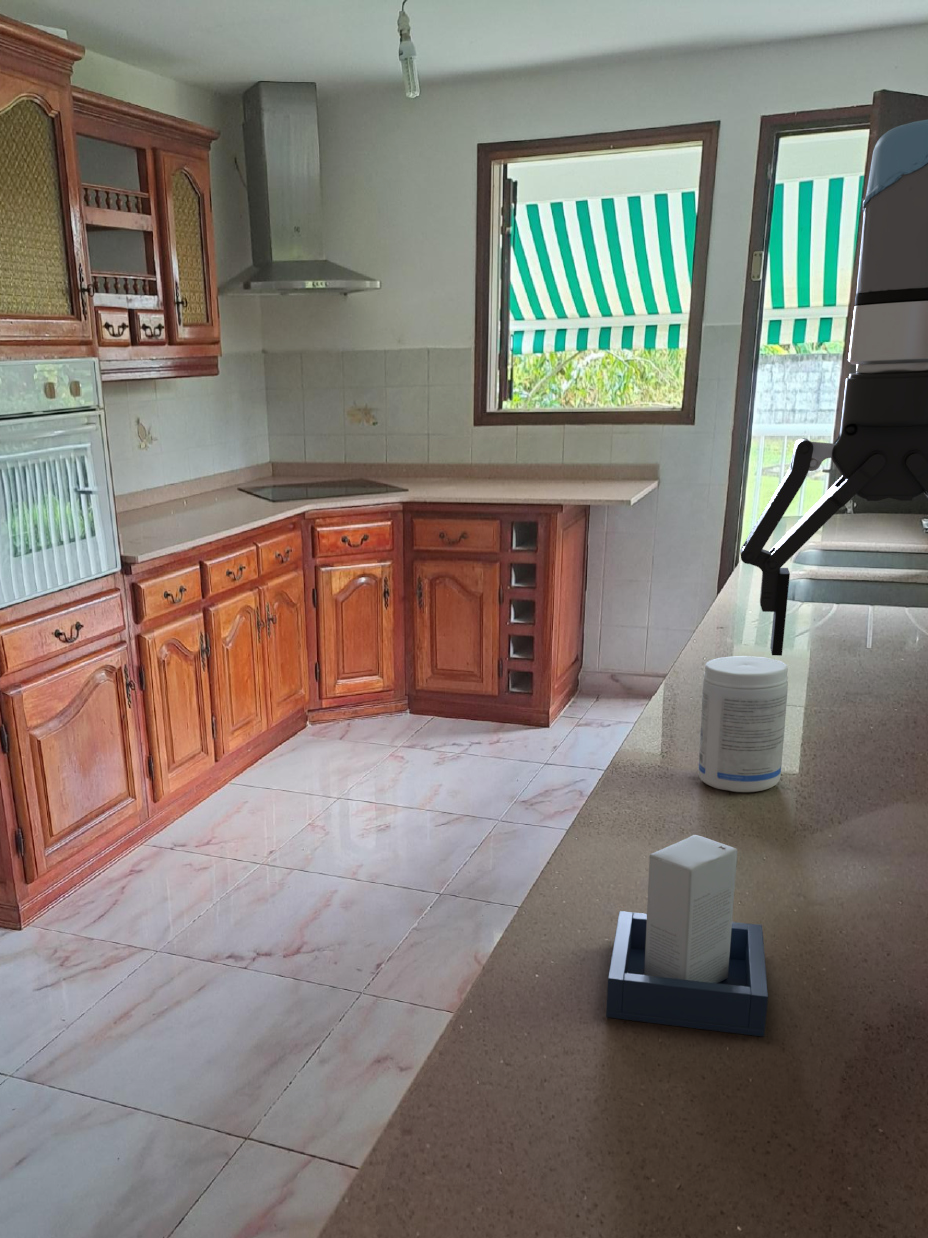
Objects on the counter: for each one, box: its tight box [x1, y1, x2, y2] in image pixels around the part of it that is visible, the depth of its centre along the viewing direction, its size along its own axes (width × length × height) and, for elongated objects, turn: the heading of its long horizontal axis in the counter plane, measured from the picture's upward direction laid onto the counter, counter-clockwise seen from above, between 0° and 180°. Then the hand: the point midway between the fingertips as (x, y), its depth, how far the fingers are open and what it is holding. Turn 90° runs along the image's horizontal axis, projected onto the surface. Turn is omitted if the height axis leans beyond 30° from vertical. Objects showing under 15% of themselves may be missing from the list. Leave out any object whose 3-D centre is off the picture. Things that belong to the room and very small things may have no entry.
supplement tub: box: [697, 655, 789, 793], centre depth 134 cm, size 10×10×15 cm
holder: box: [605, 910, 769, 1038], centre depth 92 cm, size 12×12×4 cm
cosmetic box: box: [644, 834, 738, 983], centre depth 91 cm, size 6×4×12 cm
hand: (867, 654), depth 88 cm, fingers open, 13 cm apart
